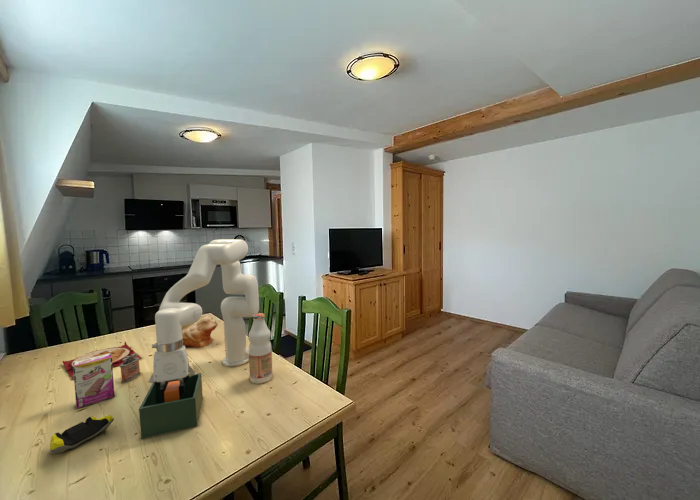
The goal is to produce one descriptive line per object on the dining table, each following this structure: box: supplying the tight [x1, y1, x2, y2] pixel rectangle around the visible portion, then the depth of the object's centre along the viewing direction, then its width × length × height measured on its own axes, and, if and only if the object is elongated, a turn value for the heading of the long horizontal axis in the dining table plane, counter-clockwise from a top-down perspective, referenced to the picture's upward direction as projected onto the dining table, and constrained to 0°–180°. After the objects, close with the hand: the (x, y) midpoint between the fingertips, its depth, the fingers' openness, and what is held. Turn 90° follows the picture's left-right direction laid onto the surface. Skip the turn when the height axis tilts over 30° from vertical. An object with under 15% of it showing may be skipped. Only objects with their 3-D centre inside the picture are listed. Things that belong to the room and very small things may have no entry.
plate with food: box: [61, 341, 143, 379], centre depth 146 cm, size 24×26×3 cm
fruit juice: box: [247, 312, 274, 385], centre depth 127 cm, size 9×9×28 cm
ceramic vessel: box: [182, 315, 219, 349], centre depth 167 cm, size 14×26×15 cm, turn 89°
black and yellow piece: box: [49, 414, 115, 454], centre depth 92 cm, size 15×6×10 cm
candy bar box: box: [73, 353, 115, 410], centre depth 113 cm, size 11×5×16 cm, turn 135°
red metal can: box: [119, 352, 141, 384], centre depth 130 cm, size 8×3×10 cm, turn 168°
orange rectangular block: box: [164, 380, 180, 403], centre depth 103 cm, size 4×7×4 cm, turn 21°
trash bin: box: [138, 372, 204, 440], centre depth 103 cm, size 16×18×10 cm
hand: (173, 395), depth 103 cm, fingers closed on orange rectangular block, 4 cm apart
